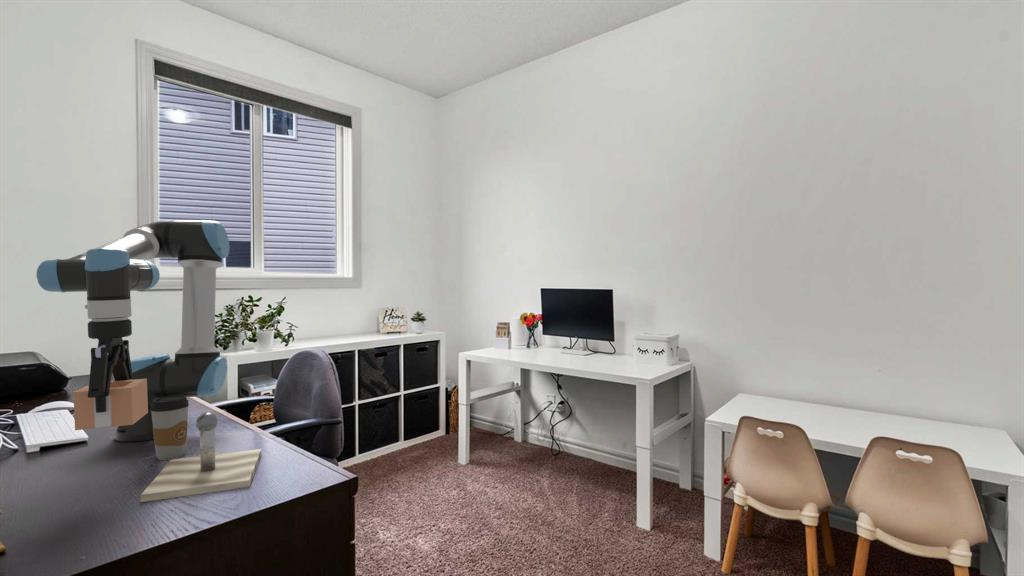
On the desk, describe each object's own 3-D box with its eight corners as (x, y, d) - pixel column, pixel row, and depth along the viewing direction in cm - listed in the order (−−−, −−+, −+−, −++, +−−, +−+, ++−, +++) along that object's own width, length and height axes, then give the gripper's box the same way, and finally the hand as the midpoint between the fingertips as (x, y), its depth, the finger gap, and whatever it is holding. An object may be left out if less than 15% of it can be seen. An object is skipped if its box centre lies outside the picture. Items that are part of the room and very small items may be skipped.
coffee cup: (170, 462, 125) (169, 403, 125) (143, 460, 127) (141, 402, 127) (197, 451, 134) (196, 395, 133) (171, 449, 135) (170, 394, 135)
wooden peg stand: (171, 465, 124) (169, 406, 123) (261, 454, 131) (260, 398, 130) (140, 502, 103) (139, 431, 103) (249, 486, 110) (248, 420, 110)
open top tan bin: (95, 417, 114) (94, 382, 113) (148, 412, 117) (146, 378, 117) (74, 430, 104) (73, 392, 104) (132, 424, 108) (131, 387, 107)
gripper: (109, 316, 119) (113, 408, 120) (63, 325, 98) (67, 437, 99) (147, 314, 122) (150, 405, 122) (110, 323, 101) (114, 432, 101)
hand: (113, 419), depth 111 cm, fingers closed on open top tan bin, 10 cm apart
